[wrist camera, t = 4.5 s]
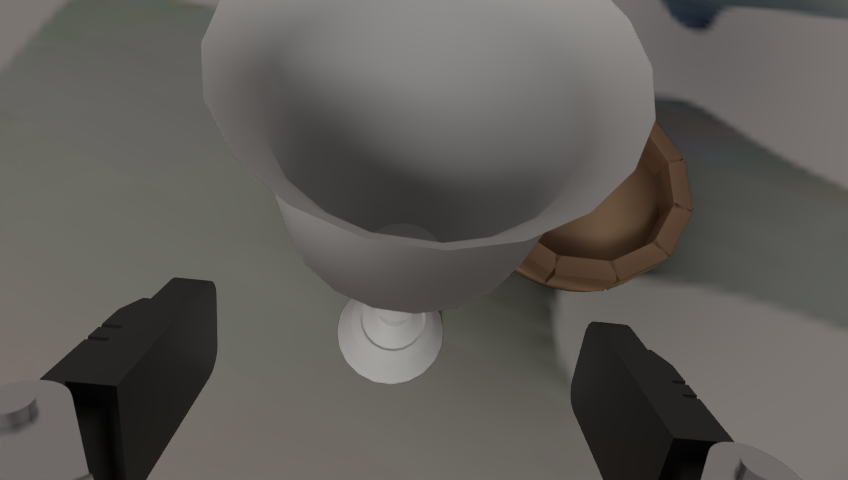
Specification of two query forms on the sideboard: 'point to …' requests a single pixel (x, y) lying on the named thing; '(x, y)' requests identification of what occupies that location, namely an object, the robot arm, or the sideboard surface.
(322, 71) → the chalice
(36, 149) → the sideboard surface
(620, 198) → the tan segmented-rim dish
